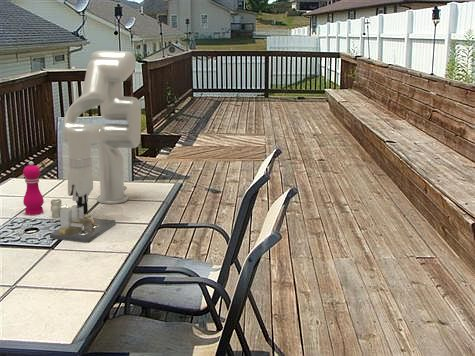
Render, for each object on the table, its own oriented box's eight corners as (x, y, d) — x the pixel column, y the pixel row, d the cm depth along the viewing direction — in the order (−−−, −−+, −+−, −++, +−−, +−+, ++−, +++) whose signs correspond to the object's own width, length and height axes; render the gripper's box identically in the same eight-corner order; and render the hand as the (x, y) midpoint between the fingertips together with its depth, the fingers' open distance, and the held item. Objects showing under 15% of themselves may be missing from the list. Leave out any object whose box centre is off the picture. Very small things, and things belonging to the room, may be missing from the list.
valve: (49, 219, 211) (82, 219, 212) (48, 202, 210) (81, 202, 211) (53, 214, 218) (85, 214, 219) (52, 197, 216) (84, 197, 217)
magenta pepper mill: (48, 211, 221) (45, 160, 216) (36, 216, 214) (32, 163, 210) (32, 209, 223) (29, 158, 218) (20, 214, 217) (16, 162, 212)
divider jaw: (74, 222, 203) (74, 204, 201) (96, 224, 201) (95, 207, 199) (70, 224, 200) (69, 207, 198) (91, 227, 198) (91, 209, 196)
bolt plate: (80, 220, 211) (79, 196, 209) (115, 224, 208) (114, 200, 206) (50, 238, 192) (48, 212, 190) (88, 242, 189) (87, 216, 187)
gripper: (81, 157, 207) (83, 206, 212) (58, 166, 193) (61, 218, 198) (100, 159, 206) (102, 208, 210) (79, 168, 192) (81, 220, 196)
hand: (82, 213), depth 204 cm, fingers closed
